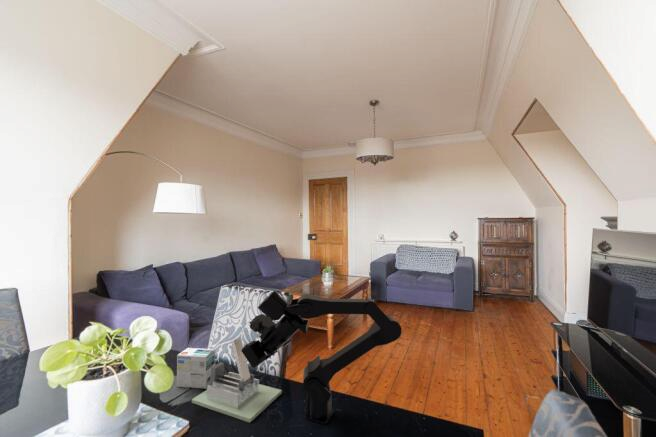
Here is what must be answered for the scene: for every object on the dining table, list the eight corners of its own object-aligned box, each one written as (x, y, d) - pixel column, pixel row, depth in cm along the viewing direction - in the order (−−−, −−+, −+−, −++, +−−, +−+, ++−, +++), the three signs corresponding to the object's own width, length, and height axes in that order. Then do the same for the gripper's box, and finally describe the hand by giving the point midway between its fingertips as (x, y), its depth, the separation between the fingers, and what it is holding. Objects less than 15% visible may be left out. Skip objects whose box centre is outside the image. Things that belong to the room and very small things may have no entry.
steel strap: (248, 382, 93) (252, 382, 92) (241, 387, 90) (246, 386, 89) (237, 338, 95) (241, 337, 94) (230, 341, 92) (234, 340, 92)
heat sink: (258, 391, 95) (259, 366, 96) (237, 409, 86) (238, 380, 86) (226, 382, 101) (226, 358, 101) (203, 398, 92) (203, 371, 92)
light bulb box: (215, 379, 105) (216, 348, 105) (206, 389, 98) (206, 356, 99) (186, 377, 106) (187, 346, 106) (175, 387, 99) (176, 354, 100)
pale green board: (281, 393, 97) (281, 390, 97) (249, 422, 82) (250, 418, 82) (228, 378, 105) (228, 375, 105) (191, 402, 91) (191, 399, 91)
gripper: (284, 300, 97) (255, 329, 101) (248, 315, 80) (215, 350, 84) (305, 328, 94) (274, 357, 98) (272, 350, 77) (236, 384, 81)
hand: (251, 360), depth 90 cm, fingers closed
